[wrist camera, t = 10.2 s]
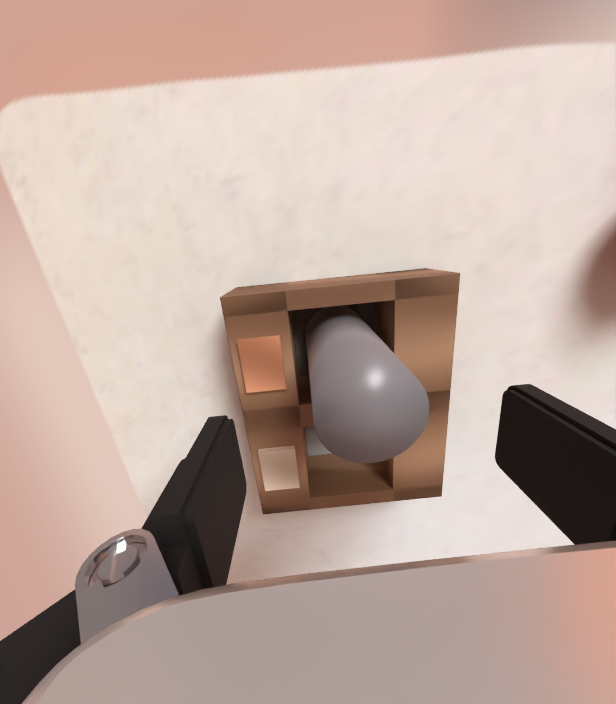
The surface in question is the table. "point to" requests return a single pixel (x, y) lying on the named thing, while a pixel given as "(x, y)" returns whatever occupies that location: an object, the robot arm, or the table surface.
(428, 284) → the socket block
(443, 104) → the table surface
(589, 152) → the table surface
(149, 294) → the table surface
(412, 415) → the plug
